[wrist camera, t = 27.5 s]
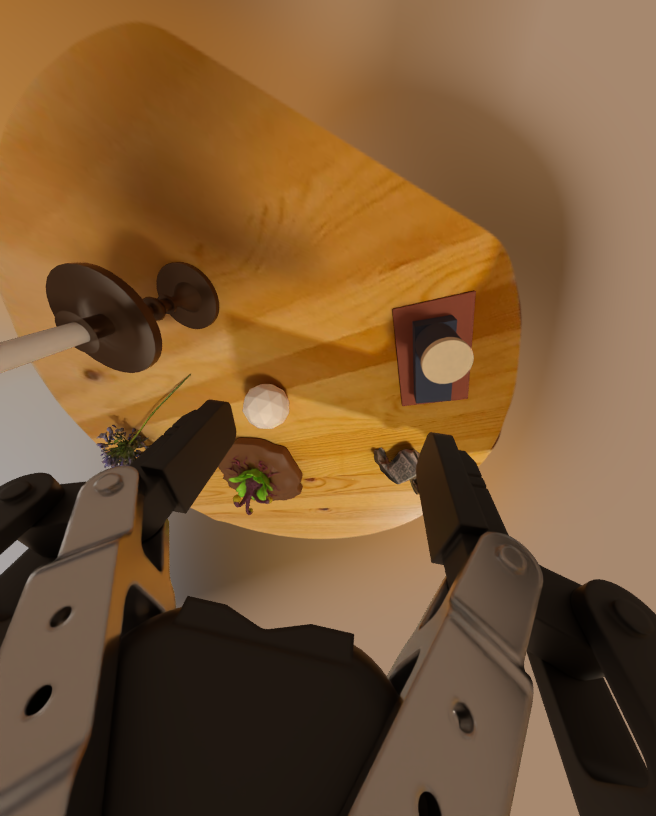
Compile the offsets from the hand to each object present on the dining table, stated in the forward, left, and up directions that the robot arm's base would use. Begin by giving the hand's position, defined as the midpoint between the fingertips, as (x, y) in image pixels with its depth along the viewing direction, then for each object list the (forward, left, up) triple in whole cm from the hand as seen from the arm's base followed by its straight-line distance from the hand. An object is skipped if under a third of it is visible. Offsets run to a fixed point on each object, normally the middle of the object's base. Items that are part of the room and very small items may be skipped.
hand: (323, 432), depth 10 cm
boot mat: (+5, +13, -28) cm, 31 cm away
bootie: (+5, +13, -28) cm, 31 cm away
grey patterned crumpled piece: (+26, +17, -28) cm, 42 cm away
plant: (+42, -11, -28) cm, 52 cm away
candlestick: (+7, -25, -28) cm, 38 cm away
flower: (+34, -36, -28) cm, 57 cm away
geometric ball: (+20, -10, -28) cm, 36 cm away
